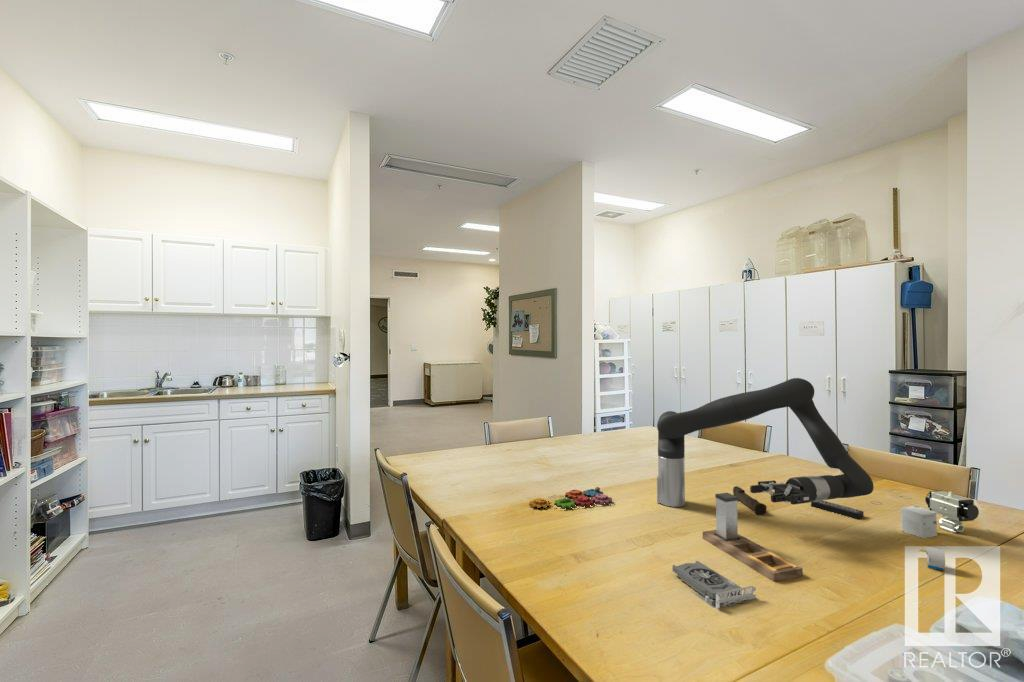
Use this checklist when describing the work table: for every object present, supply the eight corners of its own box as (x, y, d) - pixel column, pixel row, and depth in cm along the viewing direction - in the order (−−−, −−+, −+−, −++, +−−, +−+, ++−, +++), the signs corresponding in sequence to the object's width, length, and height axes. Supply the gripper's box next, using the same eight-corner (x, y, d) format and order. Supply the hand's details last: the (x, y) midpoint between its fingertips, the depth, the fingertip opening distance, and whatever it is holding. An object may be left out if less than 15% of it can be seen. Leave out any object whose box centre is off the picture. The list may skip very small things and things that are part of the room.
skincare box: (922, 539, 135) (922, 514, 135) (900, 531, 141) (900, 507, 141) (937, 536, 137) (937, 512, 137) (914, 528, 143) (914, 505, 143)
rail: (702, 538, 137) (702, 530, 137) (727, 534, 140) (727, 527, 140) (773, 581, 112) (773, 572, 112) (802, 576, 115) (802, 567, 115)
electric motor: (918, 559, 123) (918, 540, 123) (943, 564, 120) (942, 545, 120) (920, 569, 118) (919, 550, 118) (945, 575, 115) (945, 555, 115)
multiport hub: (858, 520, 150) (857, 513, 150) (810, 507, 163) (810, 501, 163) (864, 518, 153) (864, 511, 153) (816, 505, 165) (816, 498, 165)
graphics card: (759, 587, 105) (718, 596, 101) (759, 603, 104) (718, 613, 100) (706, 556, 120) (668, 562, 116) (706, 570, 120) (668, 577, 116)
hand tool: (767, 515, 155) (767, 501, 155) (755, 515, 155) (755, 501, 155) (741, 497, 174) (741, 484, 174) (730, 496, 174) (730, 484, 174)
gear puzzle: (535, 515, 158) (535, 504, 158) (522, 500, 174) (521, 489, 174) (616, 506, 166) (616, 495, 166) (596, 492, 182) (596, 482, 182)
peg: (715, 541, 135) (715, 494, 135) (727, 539, 137) (727, 492, 137) (726, 547, 131) (725, 498, 131) (738, 545, 132) (737, 497, 132)
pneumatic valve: (937, 522, 147) (936, 485, 147) (979, 538, 136) (979, 497, 136) (922, 524, 146) (922, 486, 146) (964, 539, 135) (963, 498, 135)
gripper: (788, 470, 146) (744, 474, 143) (827, 483, 132) (778, 488, 129) (789, 494, 146) (744, 498, 143) (828, 509, 132) (779, 515, 129)
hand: (761, 493), depth 136 cm, fingers open, 8 cm apart
